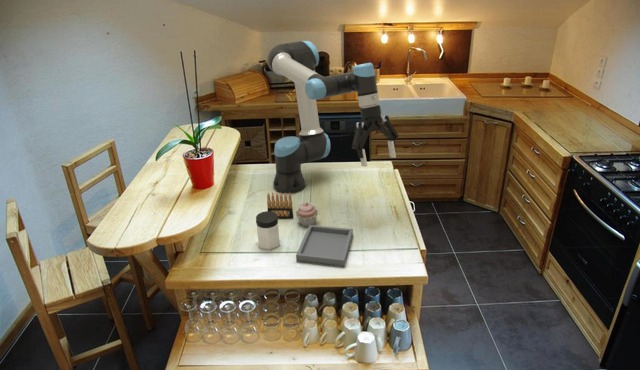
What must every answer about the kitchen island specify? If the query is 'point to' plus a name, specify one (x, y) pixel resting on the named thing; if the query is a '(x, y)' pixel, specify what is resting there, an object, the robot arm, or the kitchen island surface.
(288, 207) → the ammunition clip
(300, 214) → the cupcake
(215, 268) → the kitchen island surface
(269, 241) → the jar
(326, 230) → the tray
